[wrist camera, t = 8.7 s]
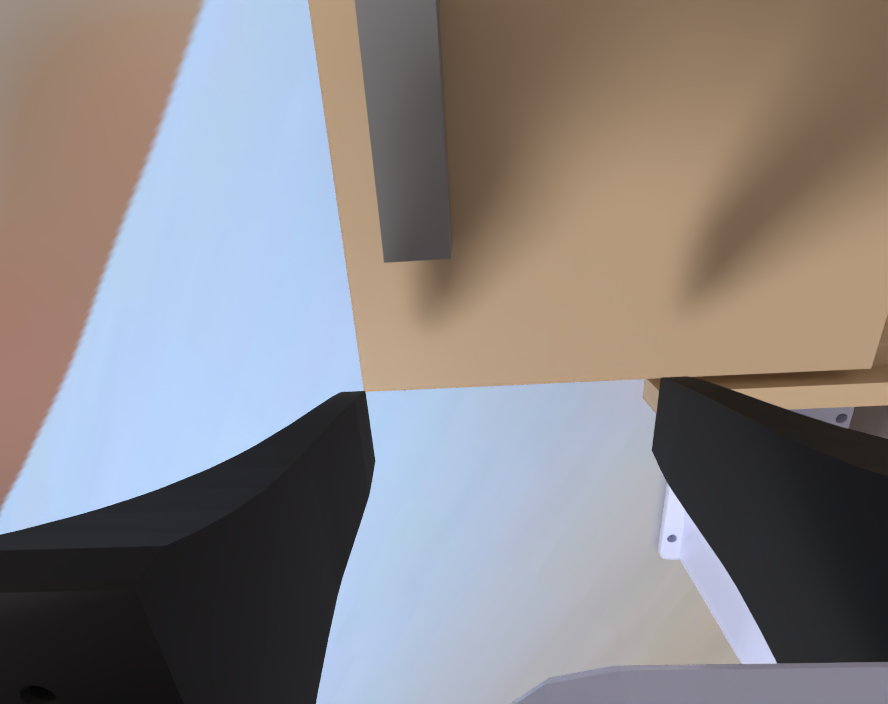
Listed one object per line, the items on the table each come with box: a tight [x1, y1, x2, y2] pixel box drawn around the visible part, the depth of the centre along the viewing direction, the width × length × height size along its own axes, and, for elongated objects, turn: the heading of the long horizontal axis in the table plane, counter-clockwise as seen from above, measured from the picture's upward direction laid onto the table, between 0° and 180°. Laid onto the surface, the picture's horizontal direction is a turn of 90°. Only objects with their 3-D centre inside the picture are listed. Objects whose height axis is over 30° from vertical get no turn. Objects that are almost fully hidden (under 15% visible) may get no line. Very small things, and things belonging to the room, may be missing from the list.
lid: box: [308, 0, 888, 392], centre depth 10 cm, size 15×16×4 cm
